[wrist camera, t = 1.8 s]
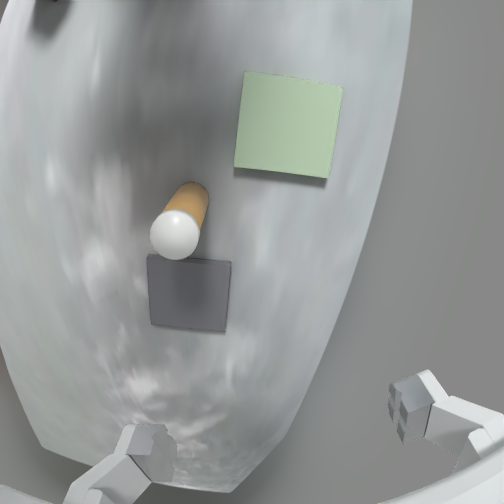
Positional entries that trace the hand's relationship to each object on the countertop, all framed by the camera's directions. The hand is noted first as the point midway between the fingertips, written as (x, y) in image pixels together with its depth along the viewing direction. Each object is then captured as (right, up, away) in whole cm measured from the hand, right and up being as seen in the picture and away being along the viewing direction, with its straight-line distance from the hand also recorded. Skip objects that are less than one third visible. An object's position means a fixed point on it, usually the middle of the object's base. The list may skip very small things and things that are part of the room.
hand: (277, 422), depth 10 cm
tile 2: (+4, +23, +30) cm, 38 cm away
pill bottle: (-9, +13, +34) cm, 38 cm away
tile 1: (-11, -1, +41) cm, 43 cm away
